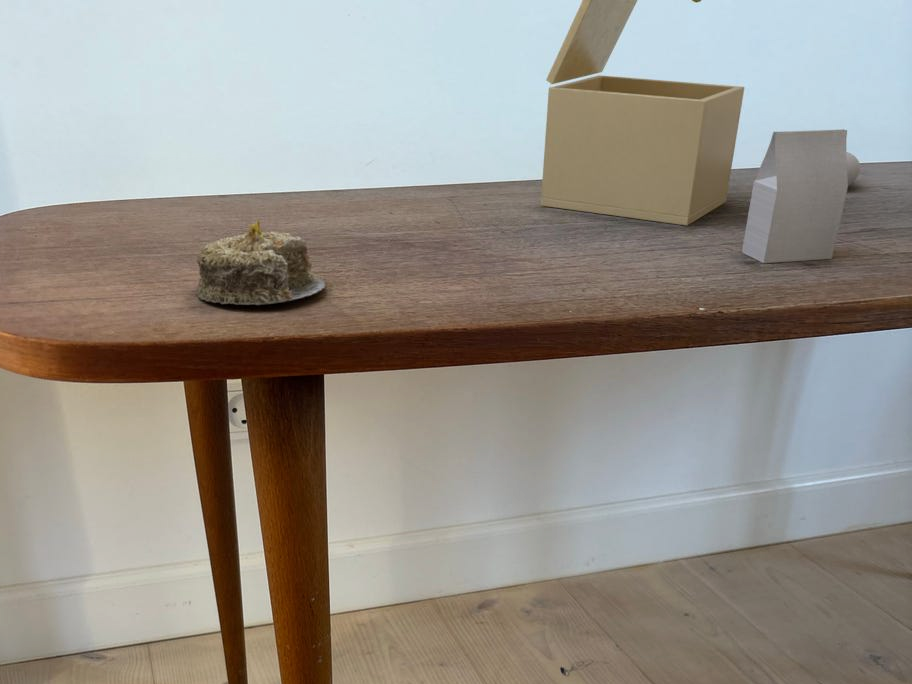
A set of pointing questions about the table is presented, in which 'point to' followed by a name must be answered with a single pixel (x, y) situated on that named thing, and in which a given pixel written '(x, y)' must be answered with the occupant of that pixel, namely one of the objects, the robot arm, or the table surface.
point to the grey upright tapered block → (798, 197)
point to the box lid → (590, 39)
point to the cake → (256, 269)
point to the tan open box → (640, 147)
